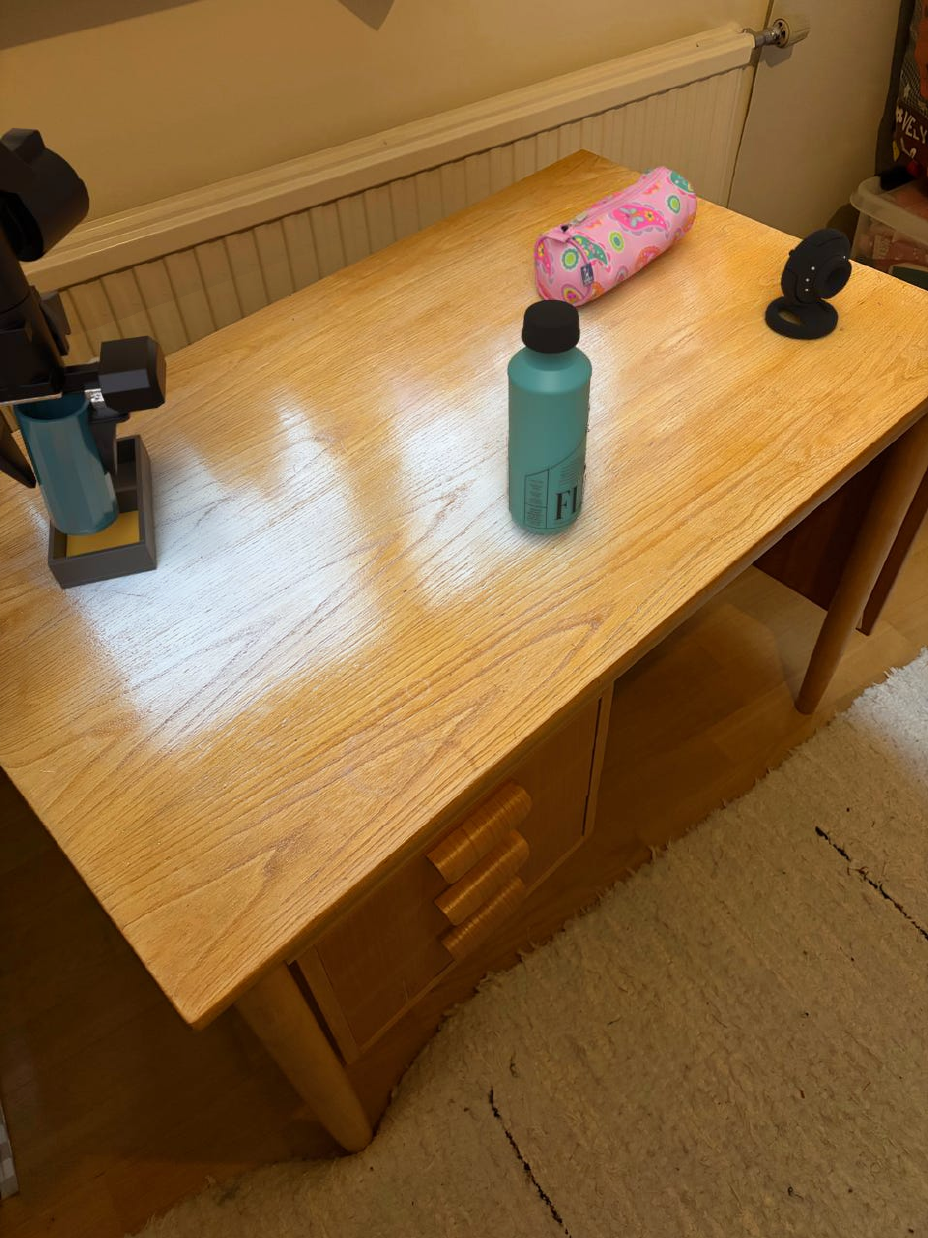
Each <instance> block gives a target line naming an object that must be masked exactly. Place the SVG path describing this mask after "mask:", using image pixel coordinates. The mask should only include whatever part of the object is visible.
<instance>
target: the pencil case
mask: <svg viewBox="0 0 928 1238" xmlns="http://www.w3.org/2000/svg"><path fill="white" fill-rule="evenodd" d="M697 207H698V200H697V195H696V191H695V188H694V187H693V185H692V184H691V182H690V181H689V180H688V179H687V178H686V177H684V176H683V175H681V174H679V173H678V172H676V171H674V170H670V169H669V168H667V167H666V166H661V165H660V166H658V167H656V168H651V169H649V170H646V171H644V172H643V173H642V174H641V175H640V176H639V177H638V179H637V181H636V183H634V184H632V185H629V186H627V187H625V188H623V189H622V190H620V191H619V192H616V193H613V194H610V195H607V196H606V197H604V198H602V199H600V200H598V201H596V202H595V203H594V204H592V205H591V206H589V207H588V208H586V209H585V210H584V211H582V212H580V213H578V214H577V215H576V216H575V217H574V218H572V219H570V221H567V222H562V223H560V224H558V225H556V226H553V227H551V228H549V229H547V230H545V231H544V232H542V233H540V235H539V236H538V237H537V239H536V240H535V242H534V246H533V260H534V261H533V263H534V278H535V285H536V287H537V291H538V292H539V294H540V295H541V297H542V298H543V300H549V299H554V300H562V301H565V302H568V303H570V304H572V305H573V306H575V307H576V308H577V307H579V306H582V305H585V304H586V303H588V302H591V301H593V300H596V299H597V298H599V297H601V296H603V294H605V293H607V292H609V291H610V290H612V289H613V288H614V287H616V286H618V285H619V284H620V283H622V282H624V281H625V280H627V279H629V278H630V277H632V276H633V275H635V274H636V273H637V272H639V271H640V270H642V268H644V267H645V266H646V265H648V264H649V263H651V262H652V261H653V260H654V259H656V258H657V257H659V255H661V254H663V253H664V252H665V251H666V250H667V249H669V248H670V247H671V246H672V245H674V244H675V243H676V242H678V241H681V240H682V239H683V238H684V237H685V236H687V234H688V233H689V232H690V231H691V229H692V227H693V226H694V224H695V220H696V216H697Z"/></svg>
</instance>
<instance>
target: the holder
mask: <svg viewBox="0 0 928 1238" xmlns="http://www.w3.org/2000/svg"><path fill="white" fill-rule="evenodd" d="M116 447H117V475H116V476H111V478H112V482H113V486H114V490H115V494H116V498H117V502H118V506H119V515H118V517H117V519H116V520H115V522H114V523H113V524H112V525H111V526H109V527H108V528H106V529H104V530H103V531H100V532H98V533H94V534H90V535H81V536H78V535H70V534H66V533H63V532H61V531H59V530H58V529H57V528H56V527H55V526H54V525H53V523H52V521H51V519H50V518H49V531H48V547H47V548H48V549H47V567H48V568H49V570H50V572H51V574H52V575H53V577H54V579H55V580H56V582H57V584H58V585H59V587H60V589H61V590H65V589H71V588H76V587H81V586H85V585H88V584H89V585H90V584H95V583H99V582H103V581H108V580H112V579H117V578H123V577H127V576H132V575H136V574H141V573H146V572H150V571H155V570H157V555H156V552H157V551H156V539H155V538H156V537H155V536H156V535H155V519H154V505H153V488H152V471H151V458H150V456H149V453H148V450H147V448H146V446H145V443H144V440H143V438H142V435H141V434H140V433H138V434H133V435H127V436H122V437H118V438H117V437H116Z"/></svg>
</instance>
